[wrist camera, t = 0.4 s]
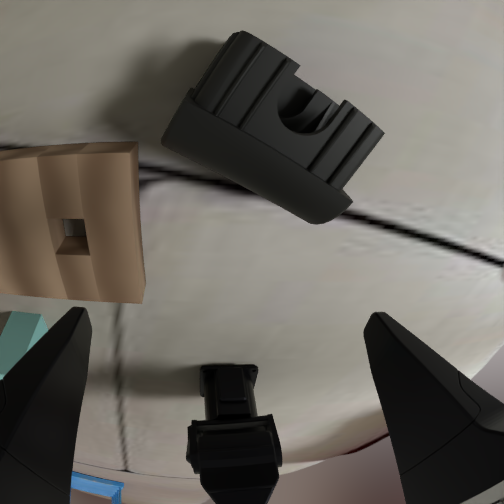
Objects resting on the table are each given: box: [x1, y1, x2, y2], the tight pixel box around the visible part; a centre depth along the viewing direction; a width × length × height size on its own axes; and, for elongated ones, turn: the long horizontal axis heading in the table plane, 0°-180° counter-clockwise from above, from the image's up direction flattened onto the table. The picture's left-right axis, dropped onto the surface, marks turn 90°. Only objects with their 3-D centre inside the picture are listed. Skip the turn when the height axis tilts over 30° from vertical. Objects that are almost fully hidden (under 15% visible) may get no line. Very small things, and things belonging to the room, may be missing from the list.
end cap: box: [161, 31, 385, 224], centre depth 17 cm, size 10×7×7 cm
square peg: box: [0, 311, 48, 380], centre depth 24 cm, size 4×4×8 cm
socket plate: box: [0, 142, 146, 304], centre depth 19 cm, size 22×12×2 cm, turn 83°
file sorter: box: [70, 471, 124, 504], centre depth 63 cm, size 25×17×15 cm
